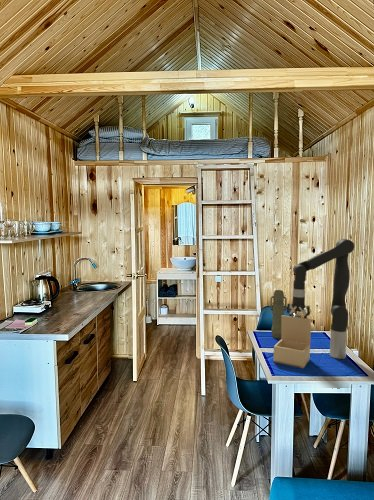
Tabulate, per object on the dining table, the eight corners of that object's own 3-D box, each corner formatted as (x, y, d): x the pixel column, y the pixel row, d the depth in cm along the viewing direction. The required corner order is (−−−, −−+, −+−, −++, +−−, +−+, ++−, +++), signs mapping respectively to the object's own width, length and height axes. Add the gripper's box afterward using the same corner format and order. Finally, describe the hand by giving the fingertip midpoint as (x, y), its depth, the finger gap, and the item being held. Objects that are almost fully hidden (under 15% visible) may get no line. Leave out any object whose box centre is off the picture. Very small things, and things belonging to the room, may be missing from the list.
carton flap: (310, 344, 227) (312, 339, 233) (310, 319, 225) (312, 315, 231) (281, 339, 236) (284, 335, 242) (281, 315, 234) (284, 311, 240)
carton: (309, 359, 228) (310, 344, 227) (303, 368, 214) (304, 351, 213) (280, 354, 237) (281, 339, 236) (273, 362, 223) (273, 346, 223)
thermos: (287, 338, 270) (288, 291, 268) (271, 338, 270) (272, 291, 267) (283, 334, 279) (285, 289, 277) (268, 334, 279) (269, 289, 276)
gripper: (311, 295, 234) (310, 320, 235) (289, 293, 241) (288, 317, 242) (308, 297, 227) (308, 323, 228) (286, 295, 234) (285, 320, 236)
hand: (298, 320), depth 235 cm, fingers open, 8 cm apart
